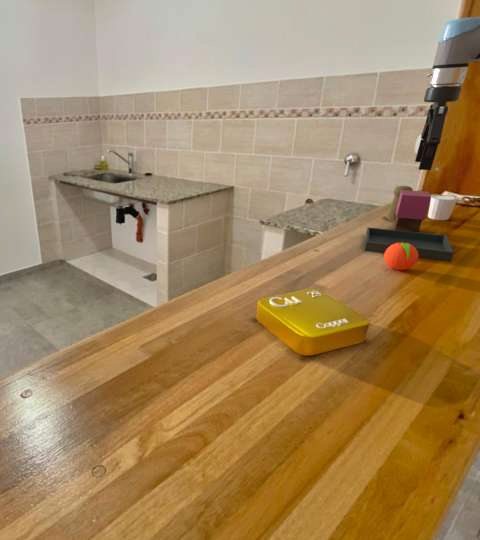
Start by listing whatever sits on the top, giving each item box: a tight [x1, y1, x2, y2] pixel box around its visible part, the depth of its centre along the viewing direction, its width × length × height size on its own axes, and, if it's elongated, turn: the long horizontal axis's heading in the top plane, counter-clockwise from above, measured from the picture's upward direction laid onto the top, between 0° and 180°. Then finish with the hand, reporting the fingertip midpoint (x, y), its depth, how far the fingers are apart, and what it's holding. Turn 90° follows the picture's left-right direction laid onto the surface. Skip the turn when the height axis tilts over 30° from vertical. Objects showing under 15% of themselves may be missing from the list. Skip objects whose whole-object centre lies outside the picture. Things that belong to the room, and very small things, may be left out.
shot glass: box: [427, 195, 458, 221], centre depth 129 cm, size 7×7×7 cm
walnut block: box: [393, 217, 423, 233], centre depth 120 cm, size 6×6×5 cm
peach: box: [383, 242, 419, 271], centre depth 95 cm, size 8×7×7 cm
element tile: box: [255, 288, 370, 357], centre depth 74 cm, size 15×15×5 cm
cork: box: [385, 185, 414, 221], centre depth 130 cm, size 6×6×11 cm
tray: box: [363, 227, 454, 262], centre depth 108 cm, size 19×14×3 cm
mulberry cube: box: [396, 190, 432, 221], centre depth 117 cm, size 7×7×7 cm
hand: (422, 165), depth 112 cm, fingers open, 13 cm apart
